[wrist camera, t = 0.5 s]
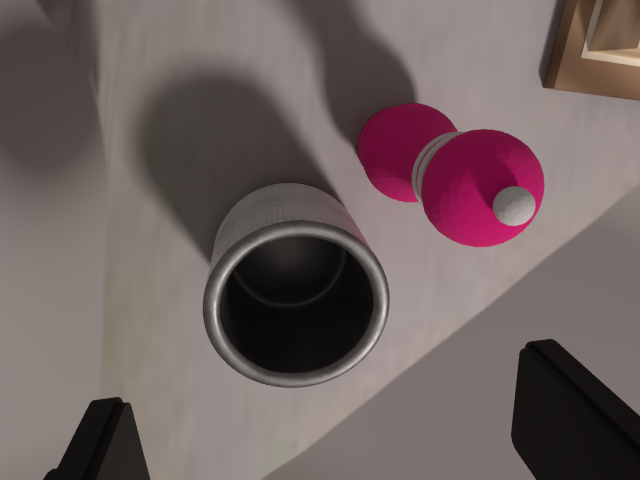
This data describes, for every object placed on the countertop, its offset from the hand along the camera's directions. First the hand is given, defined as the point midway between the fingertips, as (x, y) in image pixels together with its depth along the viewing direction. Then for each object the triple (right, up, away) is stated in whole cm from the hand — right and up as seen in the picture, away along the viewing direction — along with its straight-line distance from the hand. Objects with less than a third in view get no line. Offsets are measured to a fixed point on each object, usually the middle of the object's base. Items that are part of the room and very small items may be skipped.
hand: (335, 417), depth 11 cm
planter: (-3, +3, +30) cm, 30 cm away
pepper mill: (+6, +12, +28) cm, 31 cm away
